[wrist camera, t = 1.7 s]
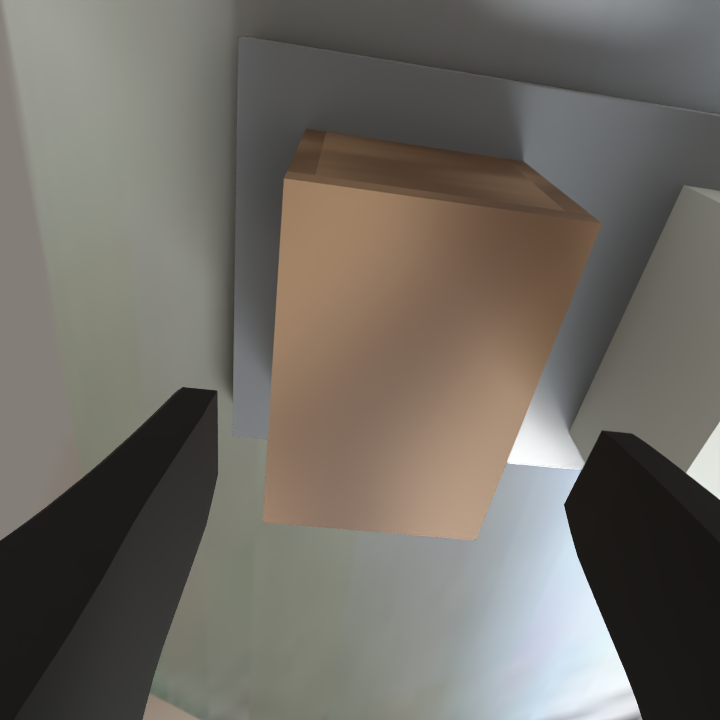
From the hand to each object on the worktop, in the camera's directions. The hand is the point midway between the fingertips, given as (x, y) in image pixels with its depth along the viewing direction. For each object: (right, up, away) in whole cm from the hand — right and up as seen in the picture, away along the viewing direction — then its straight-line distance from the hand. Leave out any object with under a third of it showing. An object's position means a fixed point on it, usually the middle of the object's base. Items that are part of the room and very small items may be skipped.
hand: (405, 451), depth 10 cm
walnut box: (0, +4, +6) cm, 7 cm away
